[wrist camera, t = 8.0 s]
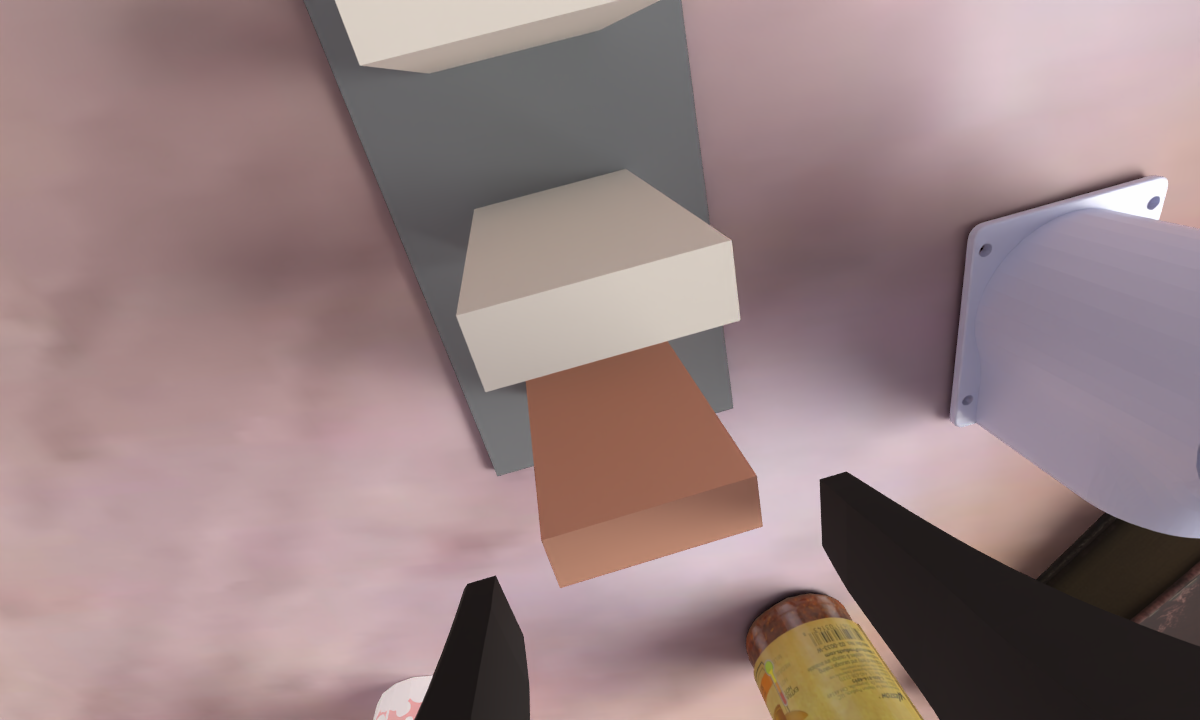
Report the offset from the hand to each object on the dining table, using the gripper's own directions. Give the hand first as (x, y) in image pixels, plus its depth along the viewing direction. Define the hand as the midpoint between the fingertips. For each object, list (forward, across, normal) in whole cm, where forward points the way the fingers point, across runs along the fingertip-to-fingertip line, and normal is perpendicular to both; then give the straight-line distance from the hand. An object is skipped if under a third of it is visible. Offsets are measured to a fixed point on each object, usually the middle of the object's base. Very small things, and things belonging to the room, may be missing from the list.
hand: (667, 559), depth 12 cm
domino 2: (+10, 0, -6) cm, 11 cm away
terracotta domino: (+10, 0, 0) cm, 10 cm away
